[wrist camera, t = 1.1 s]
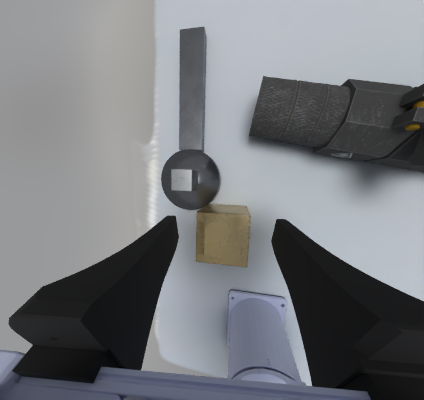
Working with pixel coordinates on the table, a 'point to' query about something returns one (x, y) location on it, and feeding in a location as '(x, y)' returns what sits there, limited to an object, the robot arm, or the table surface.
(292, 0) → the table surface
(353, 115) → the laser sight
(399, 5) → the table surface
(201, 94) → the ratchet
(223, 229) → the wood grain cube
